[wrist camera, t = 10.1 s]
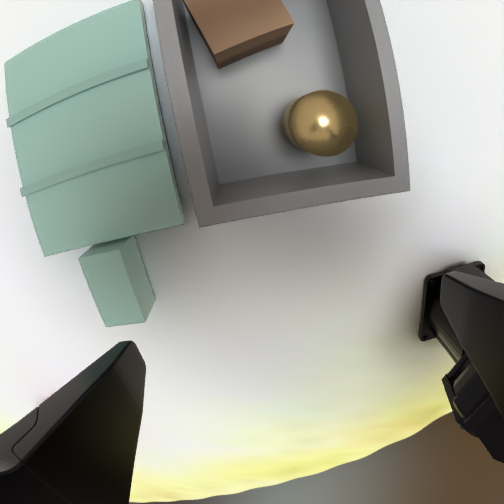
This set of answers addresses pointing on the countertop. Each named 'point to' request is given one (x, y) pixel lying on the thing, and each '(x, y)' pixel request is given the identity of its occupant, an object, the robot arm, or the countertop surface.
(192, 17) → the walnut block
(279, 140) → the tub
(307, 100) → the round knob
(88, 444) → the robot arm
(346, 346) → the countertop surface
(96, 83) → the lid
